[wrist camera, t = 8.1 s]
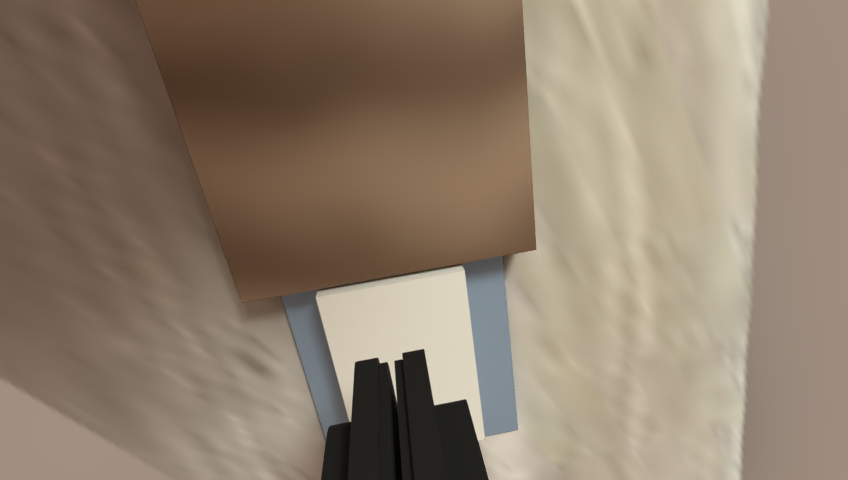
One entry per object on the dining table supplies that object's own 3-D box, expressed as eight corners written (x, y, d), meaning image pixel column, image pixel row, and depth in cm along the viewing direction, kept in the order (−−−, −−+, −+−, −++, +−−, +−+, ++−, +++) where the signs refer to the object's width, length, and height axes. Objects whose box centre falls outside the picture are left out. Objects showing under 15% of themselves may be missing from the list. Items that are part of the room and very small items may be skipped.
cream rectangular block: (321, 275, 19) (315, 297, 17) (456, 251, 19) (464, 270, 17) (361, 430, 22) (360, 463, 20) (475, 408, 22) (484, 438, 21)
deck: (100, -187, 13) (54, -230, 11) (487, -237, 14) (505, -287, 12) (254, 280, 19) (241, 303, 17) (520, 232, 19) (536, 249, 18)
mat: (278, 280, 19) (277, 283, 19) (499, 240, 20) (501, 243, 19) (334, 461, 23) (334, 466, 23) (516, 425, 24) (518, 429, 23)
